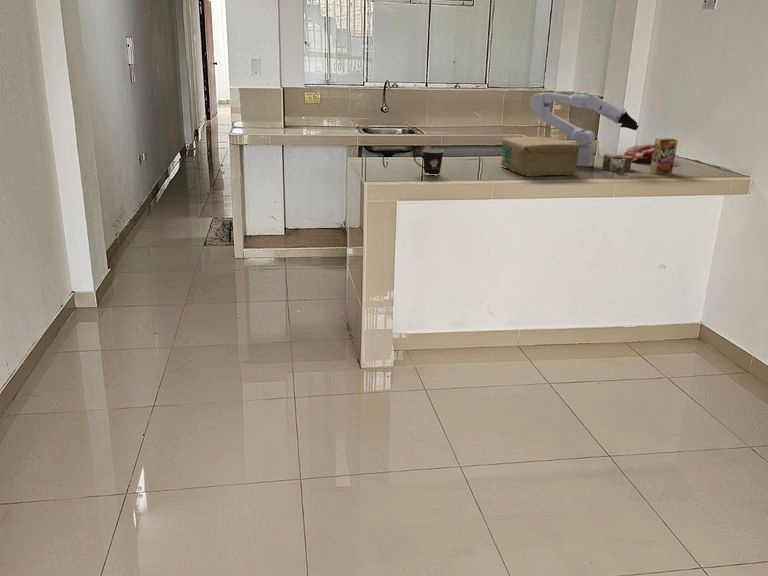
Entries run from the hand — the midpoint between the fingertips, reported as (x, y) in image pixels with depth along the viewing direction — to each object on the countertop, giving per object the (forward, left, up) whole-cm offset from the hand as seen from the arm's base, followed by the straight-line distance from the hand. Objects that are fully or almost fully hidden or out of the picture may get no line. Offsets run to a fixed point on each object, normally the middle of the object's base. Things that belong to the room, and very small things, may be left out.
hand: (636, 126), depth 298 cm
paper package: (-41, -17, -20) cm, 49 cm away
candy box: (+13, -1, -20) cm, 24 cm away
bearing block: (-6, +2, -20) cm, 20 cm away
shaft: (-6, -5, -20) cm, 21 cm away
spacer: (-6, -3, -20) cm, 21 cm away
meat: (+9, +31, -20) cm, 38 cm away
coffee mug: (-84, -43, -20) cm, 97 cm away
